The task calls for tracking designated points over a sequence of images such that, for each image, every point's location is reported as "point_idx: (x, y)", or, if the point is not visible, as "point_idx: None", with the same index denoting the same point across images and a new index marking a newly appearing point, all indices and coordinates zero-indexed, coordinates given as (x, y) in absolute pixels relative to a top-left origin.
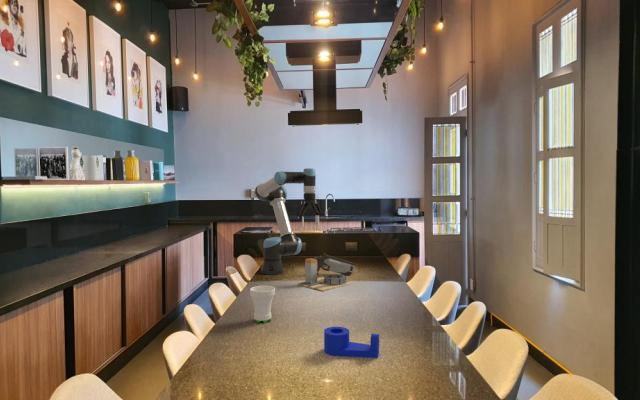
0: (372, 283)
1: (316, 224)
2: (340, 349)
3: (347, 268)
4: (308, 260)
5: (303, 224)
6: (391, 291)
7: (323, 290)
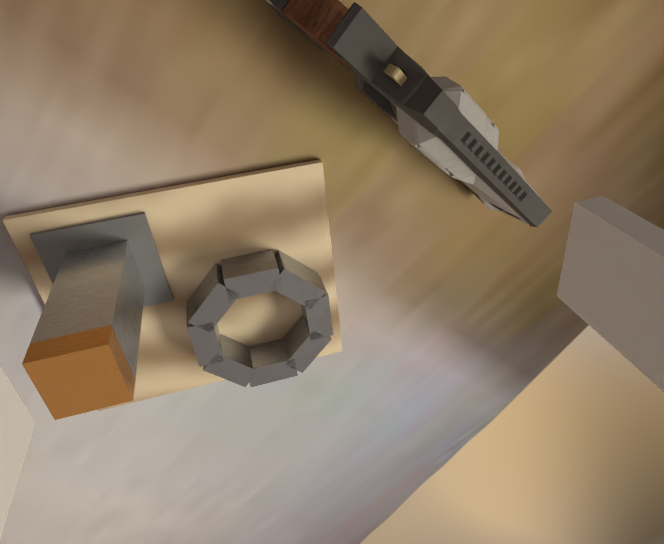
0: (410, 377)
1: (583, 252)
2: None
3: (486, 197)
4: (42, 392)
5: (10, 489)
6: (362, 486)
7: (101, 408)
